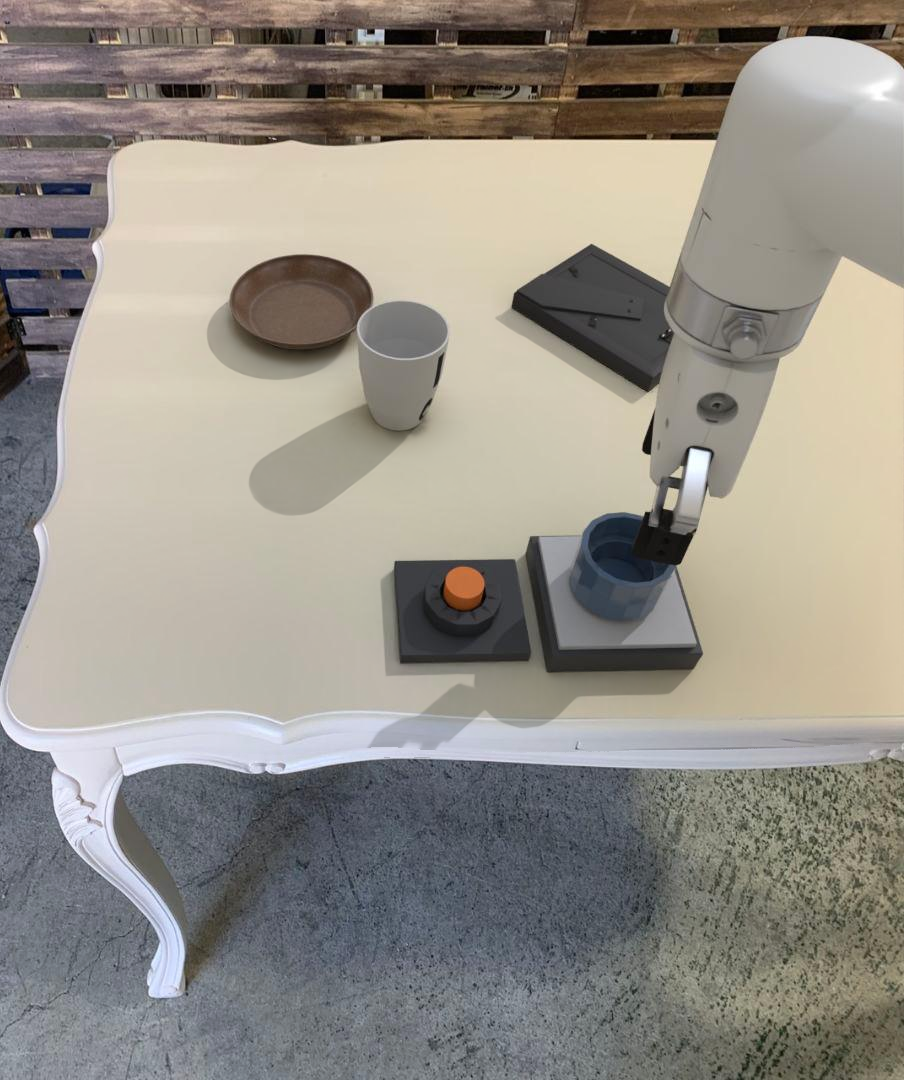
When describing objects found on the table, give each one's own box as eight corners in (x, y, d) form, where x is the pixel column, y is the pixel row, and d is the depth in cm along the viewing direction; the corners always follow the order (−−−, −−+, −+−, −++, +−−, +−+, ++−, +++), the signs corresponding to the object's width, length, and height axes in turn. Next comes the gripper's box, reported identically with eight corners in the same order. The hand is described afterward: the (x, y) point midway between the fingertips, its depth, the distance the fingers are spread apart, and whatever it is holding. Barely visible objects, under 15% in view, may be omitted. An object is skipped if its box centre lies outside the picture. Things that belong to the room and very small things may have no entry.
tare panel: (512, 567, 75) (518, 545, 73) (528, 661, 70) (535, 640, 67) (393, 568, 75) (395, 547, 72) (400, 663, 69) (402, 643, 67)
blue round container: (660, 562, 72) (679, 523, 68) (655, 634, 68) (674, 597, 64) (573, 543, 73) (587, 503, 69) (562, 613, 69) (576, 575, 65)
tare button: (479, 579, 71) (482, 566, 70) (483, 610, 69) (486, 598, 68) (441, 579, 71) (443, 566, 70) (445, 611, 69) (447, 598, 68)
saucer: (209, 345, 91) (206, 324, 89) (262, 263, 100) (260, 241, 98) (347, 377, 89) (347, 356, 87) (389, 290, 98) (390, 268, 96)
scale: (658, 551, 76) (669, 529, 74) (693, 669, 69) (706, 649, 67) (525, 553, 76) (531, 531, 74) (546, 672, 69) (554, 652, 67)
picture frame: (511, 307, 96) (647, 392, 89) (514, 290, 94) (654, 375, 87) (587, 258, 102) (722, 333, 94) (591, 240, 100) (729, 316, 93)
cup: (441, 443, 84) (451, 361, 76) (354, 441, 84) (355, 358, 76) (438, 384, 89) (448, 301, 81) (356, 381, 89) (358, 298, 81)
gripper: (821, 417, 43) (712, 616, 56) (807, 220, 53) (718, 428, 67) (661, 389, 44) (591, 591, 57) (678, 202, 54) (615, 410, 68)
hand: (659, 503), depth 62 cm, fingers open, 9 cm apart
